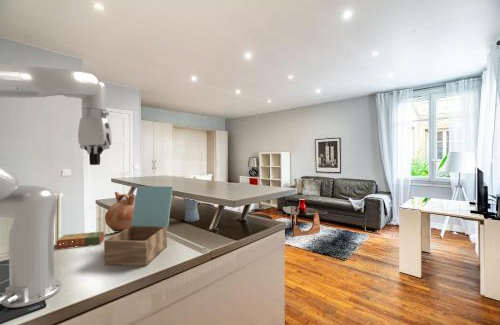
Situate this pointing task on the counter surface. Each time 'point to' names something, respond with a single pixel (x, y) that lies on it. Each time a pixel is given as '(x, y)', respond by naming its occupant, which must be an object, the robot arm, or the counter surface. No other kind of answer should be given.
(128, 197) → the jug
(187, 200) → the moka pot
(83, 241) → the carton
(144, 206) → the lid
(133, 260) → the walnut box
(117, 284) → the counter surface
